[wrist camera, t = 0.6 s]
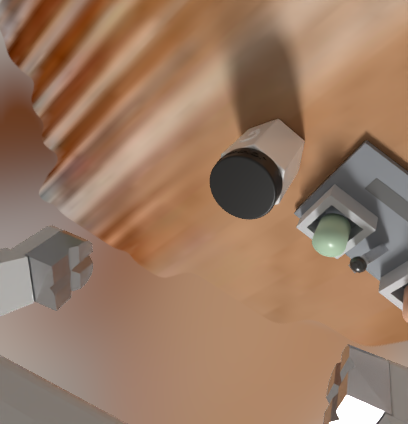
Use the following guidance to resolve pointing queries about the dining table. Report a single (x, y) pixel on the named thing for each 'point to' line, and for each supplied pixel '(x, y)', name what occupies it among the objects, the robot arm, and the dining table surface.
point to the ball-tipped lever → (367, 258)
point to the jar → (257, 170)
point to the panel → (368, 214)
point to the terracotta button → (405, 304)
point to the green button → (331, 235)
